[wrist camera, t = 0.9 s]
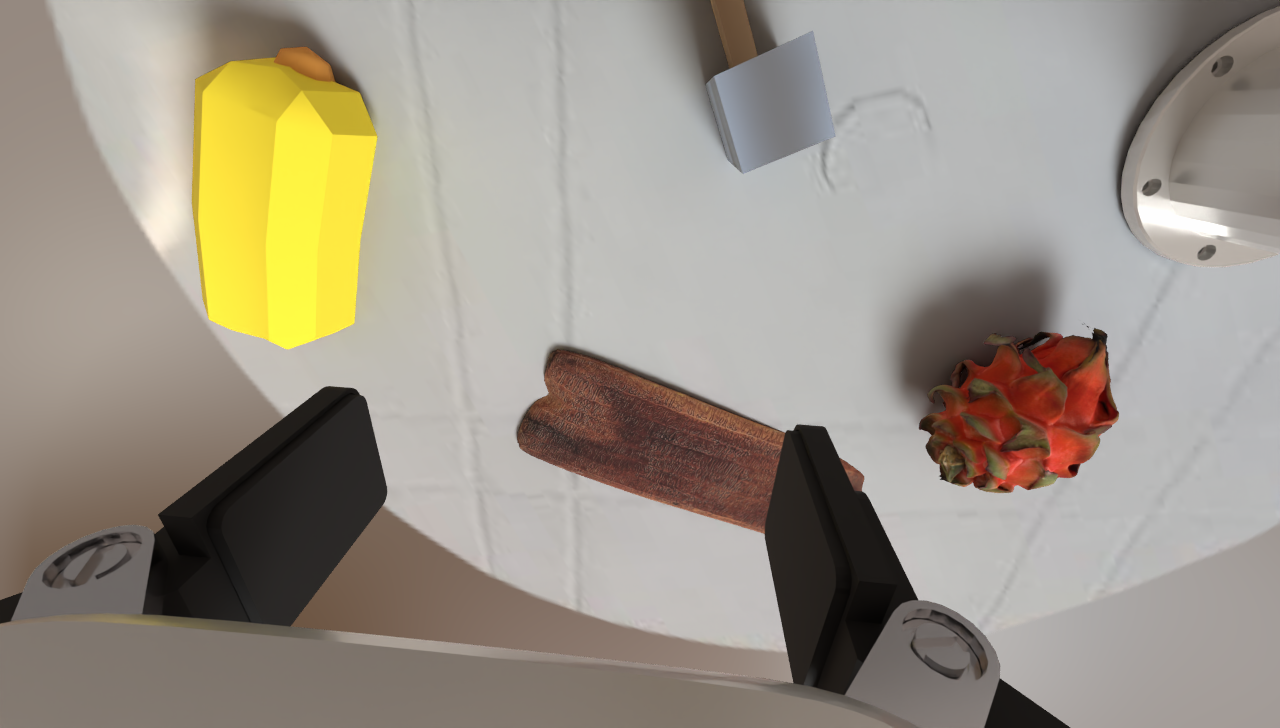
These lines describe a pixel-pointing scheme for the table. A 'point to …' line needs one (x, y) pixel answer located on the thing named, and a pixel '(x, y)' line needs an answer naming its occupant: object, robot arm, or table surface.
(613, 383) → the wooden tablet
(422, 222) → the table surface
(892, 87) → the table surface
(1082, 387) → the dragon fruit
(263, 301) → the yellow faceted part
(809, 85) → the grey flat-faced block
